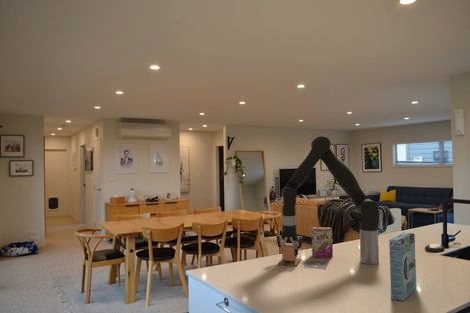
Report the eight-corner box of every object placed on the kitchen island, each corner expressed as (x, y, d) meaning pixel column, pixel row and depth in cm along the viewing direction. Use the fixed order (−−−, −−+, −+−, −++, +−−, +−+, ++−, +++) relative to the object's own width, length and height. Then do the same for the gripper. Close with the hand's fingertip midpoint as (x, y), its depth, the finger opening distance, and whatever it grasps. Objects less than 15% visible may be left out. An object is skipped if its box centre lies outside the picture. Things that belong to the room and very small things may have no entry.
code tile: (328, 262, 194) (328, 262, 194) (325, 269, 181) (325, 269, 181) (307, 260, 197) (307, 260, 197) (303, 267, 184) (303, 267, 184)
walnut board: (301, 260, 198) (301, 258, 198) (296, 266, 186) (296, 264, 186) (283, 259, 202) (283, 257, 202) (277, 265, 189) (277, 263, 189)
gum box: (403, 301, 137) (402, 241, 138) (389, 298, 141) (388, 239, 141) (417, 288, 152) (415, 233, 153) (404, 285, 156) (402, 232, 156)
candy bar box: (312, 257, 204) (312, 228, 204) (311, 255, 209) (311, 227, 209) (333, 258, 202) (332, 228, 203) (331, 255, 207) (331, 227, 208)
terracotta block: (297, 256, 197) (296, 243, 197) (293, 261, 189) (293, 247, 189) (286, 256, 199) (285, 243, 199) (282, 260, 191) (282, 246, 191)
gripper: (303, 223, 195) (304, 254, 195) (277, 222, 200) (278, 252, 200) (301, 225, 188) (302, 258, 188) (274, 224, 193) (274, 256, 193)
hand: (289, 255), depth 194 cm, fingers closed on terracotta block, 6 cm apart
